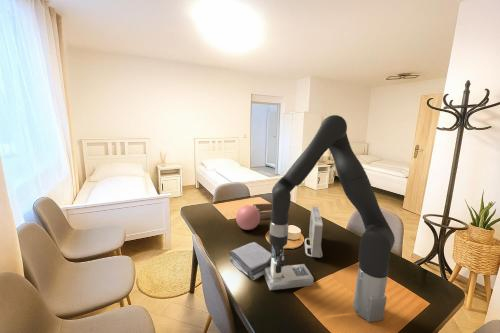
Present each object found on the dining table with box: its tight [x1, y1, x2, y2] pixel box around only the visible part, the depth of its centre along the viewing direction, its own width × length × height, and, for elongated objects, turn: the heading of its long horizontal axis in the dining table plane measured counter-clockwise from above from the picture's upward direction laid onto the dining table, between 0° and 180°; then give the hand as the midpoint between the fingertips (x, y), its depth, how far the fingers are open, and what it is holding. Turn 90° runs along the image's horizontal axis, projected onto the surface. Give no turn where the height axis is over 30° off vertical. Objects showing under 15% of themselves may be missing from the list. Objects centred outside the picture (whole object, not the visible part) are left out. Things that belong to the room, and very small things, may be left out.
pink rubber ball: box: [235, 204, 261, 231], centre depth 145 cm, size 15×20×15 cm
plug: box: [270, 258, 283, 279], centre depth 96 cm, size 4×4×10 cm
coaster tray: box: [252, 202, 273, 220], centre depth 169 cm, size 16×16×5 cm
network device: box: [304, 206, 324, 258], centre depth 123 cm, size 26×9×20 cm, turn 168°
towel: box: [229, 241, 273, 281], centre depth 107 cm, size 15×18×8 cm
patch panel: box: [263, 263, 314, 291], centre depth 98 cm, size 10×19×4 cm, turn 101°
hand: (276, 268), depth 96 cm, fingers open, 4 cm apart
